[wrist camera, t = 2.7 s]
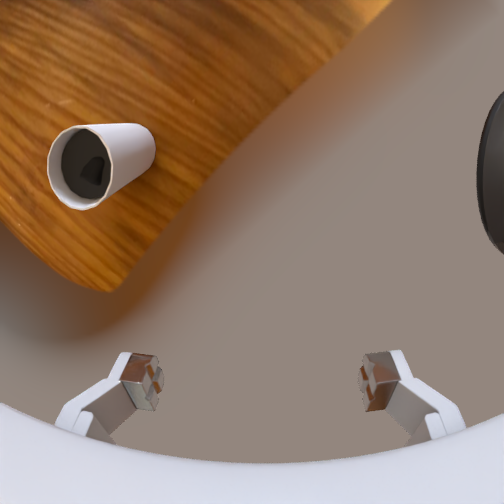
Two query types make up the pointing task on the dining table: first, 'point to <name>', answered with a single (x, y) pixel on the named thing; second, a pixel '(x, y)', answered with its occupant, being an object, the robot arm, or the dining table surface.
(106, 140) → the white coffee cup
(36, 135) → the dining table surface
